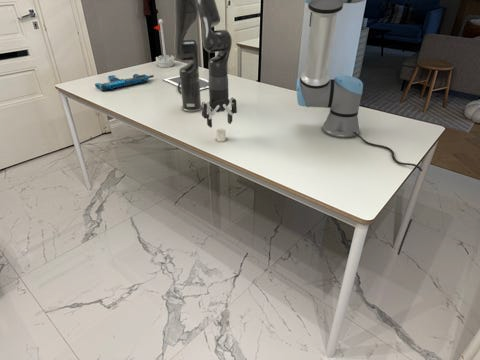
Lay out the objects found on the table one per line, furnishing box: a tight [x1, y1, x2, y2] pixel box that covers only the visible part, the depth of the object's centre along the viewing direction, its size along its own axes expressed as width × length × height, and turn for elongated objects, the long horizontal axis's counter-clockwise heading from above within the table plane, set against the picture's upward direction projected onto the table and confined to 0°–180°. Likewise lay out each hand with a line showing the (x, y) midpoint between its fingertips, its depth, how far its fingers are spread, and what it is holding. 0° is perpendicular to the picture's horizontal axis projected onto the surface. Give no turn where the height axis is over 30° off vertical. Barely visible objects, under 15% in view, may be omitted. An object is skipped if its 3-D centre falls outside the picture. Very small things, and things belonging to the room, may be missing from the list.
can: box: [216, 128, 227, 142], centre depth 142 cm, size 4×4×4 cm
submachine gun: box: [94, 73, 155, 91], centre depth 208 cm, size 34×4×25 cm
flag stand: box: [153, 18, 176, 68], centre depth 235 cm, size 13×13×30 cm
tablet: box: [162, 75, 209, 91], centre depth 208 cm, size 32×20×1 cm, turn 41°
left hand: (220, 125), depth 140 cm, fingers open, 8 cm apart
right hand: (316, 28), depth 162 cm, fingers open, 13 cm apart
